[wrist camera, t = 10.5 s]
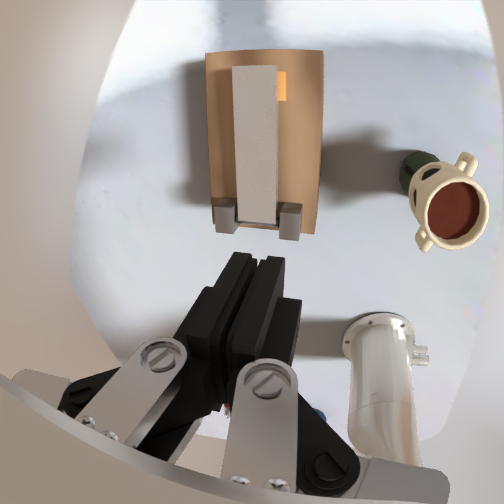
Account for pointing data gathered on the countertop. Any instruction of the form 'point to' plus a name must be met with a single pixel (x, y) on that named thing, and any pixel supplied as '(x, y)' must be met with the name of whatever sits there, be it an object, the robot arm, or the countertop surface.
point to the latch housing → (289, 136)
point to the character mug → (445, 200)
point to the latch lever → (256, 143)
